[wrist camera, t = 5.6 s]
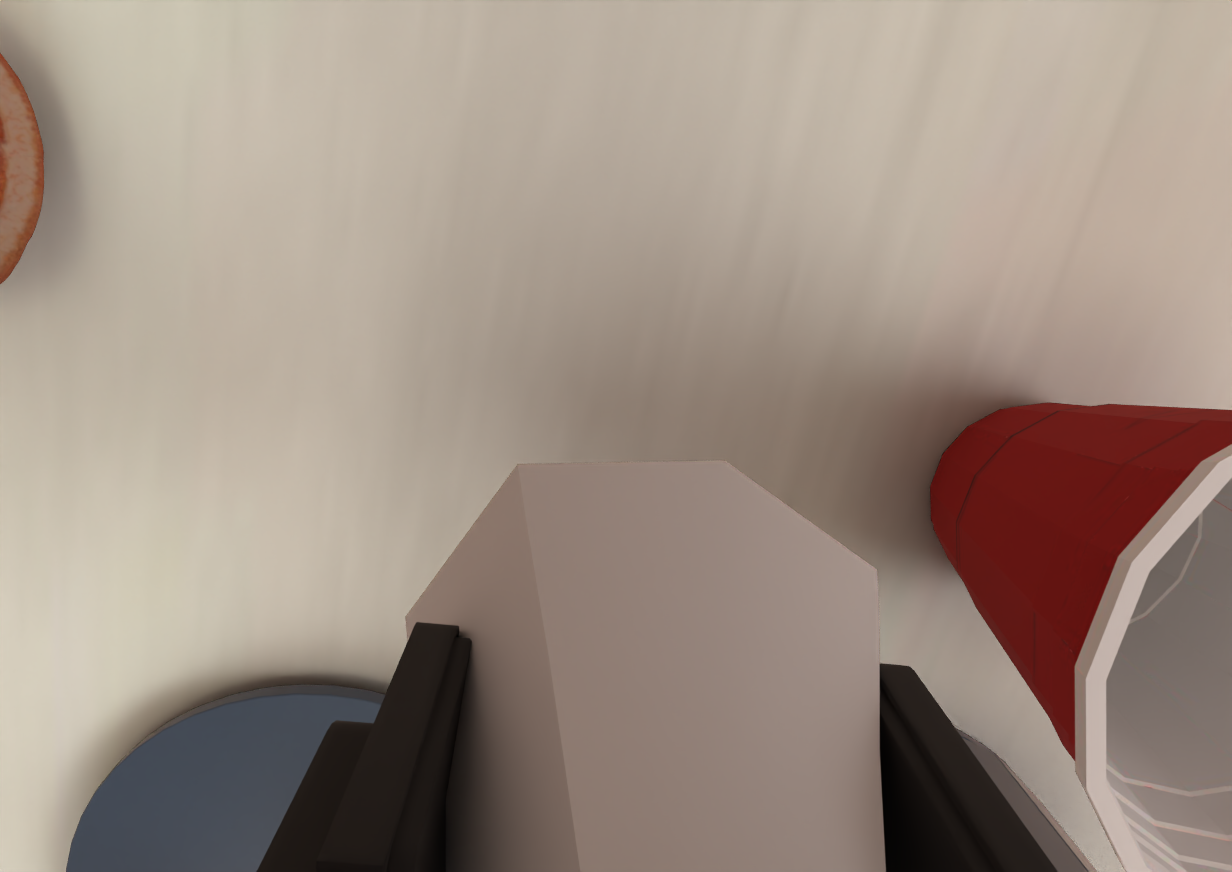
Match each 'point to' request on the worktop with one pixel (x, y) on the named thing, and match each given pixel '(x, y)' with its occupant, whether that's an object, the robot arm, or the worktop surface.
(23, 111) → the fruit slice
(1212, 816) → the plastic cup
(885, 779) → the robot arm
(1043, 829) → the pot
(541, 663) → the flask
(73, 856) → the lid
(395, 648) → the worktop surface
